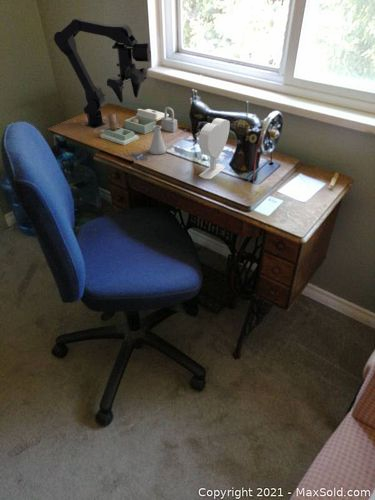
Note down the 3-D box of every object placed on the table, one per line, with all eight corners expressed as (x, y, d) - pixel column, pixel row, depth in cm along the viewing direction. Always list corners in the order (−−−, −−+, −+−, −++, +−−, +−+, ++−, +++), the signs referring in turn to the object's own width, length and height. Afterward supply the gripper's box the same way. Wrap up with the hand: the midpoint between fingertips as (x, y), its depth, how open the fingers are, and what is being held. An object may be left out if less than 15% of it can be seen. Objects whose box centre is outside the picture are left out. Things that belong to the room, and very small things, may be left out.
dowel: (108, 133, 161) (106, 114, 156) (114, 131, 163) (111, 112, 158) (114, 135, 160) (111, 116, 155) (119, 133, 162) (117, 114, 157)
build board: (100, 137, 161) (99, 129, 159) (115, 131, 167) (114, 123, 165) (124, 145, 155) (123, 137, 153) (138, 138, 160) (138, 131, 158)
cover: (136, 115, 172) (135, 109, 171) (148, 110, 178) (148, 104, 176) (156, 121, 167) (156, 114, 165) (168, 116, 172) (168, 109, 170)
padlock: (178, 130, 168) (178, 107, 162) (172, 133, 166) (172, 110, 160) (166, 126, 172) (165, 104, 165) (160, 129, 169) (159, 106, 163)
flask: (168, 148, 153) (167, 123, 147) (165, 155, 147) (165, 130, 141) (150, 147, 153) (149, 123, 147) (147, 154, 148) (146, 130, 142)
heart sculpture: (216, 161, 143) (219, 114, 132) (228, 164, 141) (232, 117, 130) (195, 177, 133) (197, 127, 122) (208, 181, 131) (210, 130, 120)
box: (125, 128, 170) (124, 120, 167) (137, 123, 175) (136, 115, 172) (144, 134, 164) (144, 126, 162) (156, 129, 169) (156, 121, 167)
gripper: (123, 67, 144) (127, 109, 154) (155, 59, 156) (156, 98, 166) (103, 63, 149) (108, 103, 159) (135, 55, 161) (138, 93, 171)
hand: (128, 99), depth 163 cm, fingers open, 9 cm apart
